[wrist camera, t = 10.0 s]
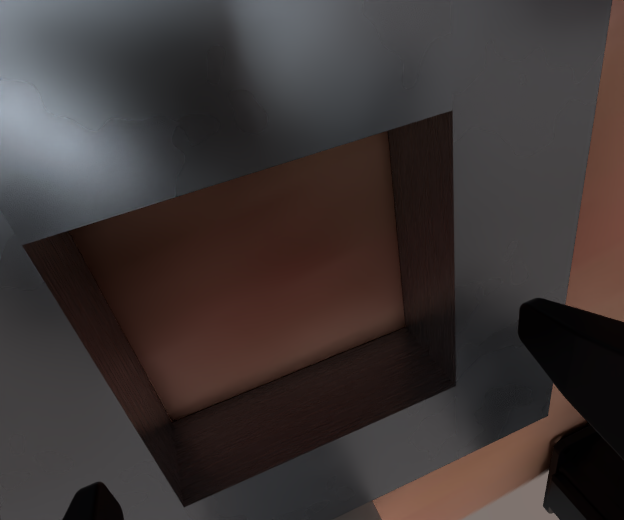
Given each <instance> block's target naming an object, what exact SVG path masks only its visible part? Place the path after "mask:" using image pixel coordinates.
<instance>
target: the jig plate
mask: <svg viewBox="0 0 624 520" xmlns="http://www.w3.org/2000/svg"><path fill="white" fill-rule="evenodd" d="M611 6H612V0H0V520H62V519H63V517H64V515H65V513H66V511H67V509H68V507H69V505H70V503H71V501H72V499H73V497H74V495H75V493H76V492H77V491H78V490H79V489H81V488H83V487H86V486H88V485H90V484H93V483H95V482H98V481H100V482H103V483H104V484H105V485H106V487H107V488H108V489H109V491H110V492H111V493H112V495H113V496H114V497H115V499H116V500H117V501H118V503H119V504H120V506H121V508H122V511H123V515H124V520H333V519H335V518H337V517H339V516H341V515H343V514H345V513H347V512H349V511H351V510H353V509H356V508H358V507H360V506H362V505H364V504H366V503H368V502H370V501H372V500H374V499H376V498H378V497H380V496H383V495H385V494H387V493H389V492H391V491H393V490H395V489H397V488H399V487H401V486H403V485H405V484H407V483H409V482H412V481H414V480H416V479H418V478H420V477H422V476H424V475H426V474H428V473H430V472H432V471H434V470H436V469H439V468H441V467H443V466H445V465H447V464H449V463H451V462H453V461H455V460H457V459H459V458H461V457H463V456H466V455H468V454H470V453H472V452H474V451H476V450H478V449H480V448H482V447H484V446H486V445H488V444H490V443H493V442H495V441H497V440H499V439H501V438H503V437H505V436H507V435H509V434H511V433H513V432H515V431H517V430H520V429H522V428H524V427H526V426H528V425H530V424H532V423H534V422H536V421H538V420H540V419H542V418H544V417H546V416H548V412H549V405H550V399H551V392H552V386H553V382H552V381H551V379H550V378H549V377H548V375H547V374H546V373H545V372H544V370H543V369H542V368H541V366H540V365H539V364H538V362H537V361H536V360H535V359H534V357H533V356H532V355H531V353H530V352H529V351H528V350H527V348H526V347H525V346H524V344H523V343H522V342H521V340H520V338H519V335H518V319H519V308H520V306H521V304H522V303H524V302H527V301H529V300H531V299H534V298H544V299H547V300H550V301H554V302H557V303H561V304H564V305H565V302H566V296H567V289H568V283H569V276H570V270H571V263H572V257H573V251H574V244H575V238H576V231H577V225H578V218H579V212H580V205H581V199H582V193H583V186H584V180H585V173H586V167H587V160H588V154H589V147H590V141H591V134H592V128H593V122H594V115H595V109H596V102H597V96H598V89H599V83H600V76H601V70H602V64H603V57H604V51H605V44H606V38H607V31H608V25H609V18H610V12H611ZM385 131H388V136H389V147H390V158H391V169H392V180H393V191H394V202H395V213H396V224H397V235H398V246H399V257H400V268H401V279H402V290H403V301H404V312H405V323H406V327H405V328H403V329H400V330H398V331H396V332H393V333H391V334H388V335H386V336H383V337H381V338H378V339H376V340H374V341H371V342H369V343H366V344H364V345H361V346H359V347H356V348H354V349H351V350H349V351H347V352H344V353H342V354H339V355H337V356H334V357H332V358H329V359H327V360H325V361H322V362H320V363H317V364H315V365H312V366H310V367H307V368H305V369H302V370H300V371H298V372H295V373H293V374H290V375H288V376H285V377H283V378H280V379H278V380H276V381H273V382H271V383H268V384H266V385H263V386H261V387H258V388H256V389H254V390H251V391H249V392H246V393H244V394H241V395H239V396H236V397H234V398H231V399H229V400H227V401H224V402H222V403H219V404H217V405H214V406H212V407H209V408H207V409H205V410H202V411H200V412H197V413H195V414H192V415H190V416H187V417H185V418H183V419H180V420H178V421H175V422H173V423H172V422H171V420H170V418H169V416H168V414H167V413H166V411H165V409H164V407H163V405H162V403H161V402H160V400H159V398H158V396H157V394H156V392H155V390H154V389H153V387H152V385H151V383H150V381H149V379H148V378H147V376H146V374H145V372H144V370H143V368H142V367H141V365H140V363H139V361H138V359H137V357H136V355H135V354H134V352H133V350H132V348H131V346H130V344H129V343H128V341H127V339H126V337H125V335H124V333H123V331H122V330H121V328H120V326H119V324H118V322H117V320H116V319H115V317H114V315H113V313H112V311H111V309H110V308H109V306H108V304H107V302H106V300H105V298H104V296H103V295H102V293H101V291H100V289H99V287H98V285H97V284H96V282H95V280H94V278H93V276H92V274H91V272H90V271H89V269H88V267H87V265H86V263H85V261H84V260H83V258H82V256H81V254H80V252H79V250H78V249H77V247H76V245H75V243H74V241H73V239H72V237H71V236H70V234H69V232H68V231H69V230H73V229H76V228H79V227H82V226H85V225H88V224H92V223H95V222H98V221H101V220H104V219H108V218H111V217H114V216H117V215H120V214H124V213H127V212H130V211H133V210H136V209H139V208H143V207H146V206H149V205H152V204H155V203H159V202H162V201H165V200H168V199H171V198H175V197H178V196H181V195H184V194H187V193H190V192H194V191H197V190H200V189H203V188H206V187H210V186H213V185H216V184H219V183H222V182H226V181H229V180H232V179H235V178H238V177H241V176H245V175H248V174H251V173H254V172H257V171H261V170H264V169H267V168H270V167H273V166H277V165H280V164H283V163H286V162H289V161H292V160H296V159H299V158H302V157H305V156H308V155H312V154H315V153H318V152H321V151H324V150H327V149H331V148H334V147H337V146H340V145H343V144H347V143H350V142H353V141H356V140H359V139H363V138H366V137H369V136H372V135H375V134H378V133H382V132H385Z"/></svg>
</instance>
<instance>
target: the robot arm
mask: <svg viewBox="0 0 624 520" xmlns="http://www.w3.org/2000/svg"><path fill="white" fill-rule="evenodd" d="M518 335H519V338H520V340H521V342H522V343H523V344H524V346H525V347H526V348H527V350H528V351H529V352H530V353H531V355H532V356H533V357H534V359H535V360H536V361H537V362H538V364H539V365H540V366H541V368H542V369H543V370H544V372H545V373H546V374H547V375H548V377H549V378H550V379H551V381H552V382H553V383H554V384H555V386H556V387H557V388H558V390H559V391H560V392H561V393H562V394H563V396H564V397H565V398H566V399H567V400H568V401H569V402H570V404H571V405H572V406H573V407H574V408H575V409H576V410H577V411H578V412H579V413H580V414H581V415H582V416H583V417H584V418H585V420H586V421H587V422H588V423H589V424H590V426H588V427H586V428H584V429H582V430H580V431H578V432H576V433H574V434H572V435H570V436H568V437H566V438H564V439H562V440H560V441H559V442H557V443H556V445H555V446H554V448H553V452H552V457H551V463H550V469H549V474H548V481H547V486H546V492H545V497H544V503H543V507H544V508H545V509H546V510H547V512H548V513H555V514H556V516H557V517H558V518H559V519H560V520H624V322H622V321H618V320H615V319H612V318H608V317H605V316H601V315H598V314H595V313H591V312H588V311H584V310H581V309H578V308H574V307H571V306H567V305H564V304H561V303H557V302H554V301H550V300H547V299H544V298H534V299H531V300H529V301H527V302H524V303H522V304H521V306H520V308H519V319H518ZM62 520H124V515H123V511H122V508H121V506H120V504H119V503H118V501H117V500H116V499H115V497H114V496H113V495H112V493H111V492H110V491H109V489H108V488H107V487H106V485H105V484H104V483H103V482H100V481H98V482H95V483H93V484H90V485H88V486H86V487H83V488H81V489H79V490H78V491H77V492H76V493H75V495H74V497H73V499H72V501H71V503H70V505H69V507H68V509H67V511H66V513H65V515H64V517H63V519H62Z"/></svg>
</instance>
